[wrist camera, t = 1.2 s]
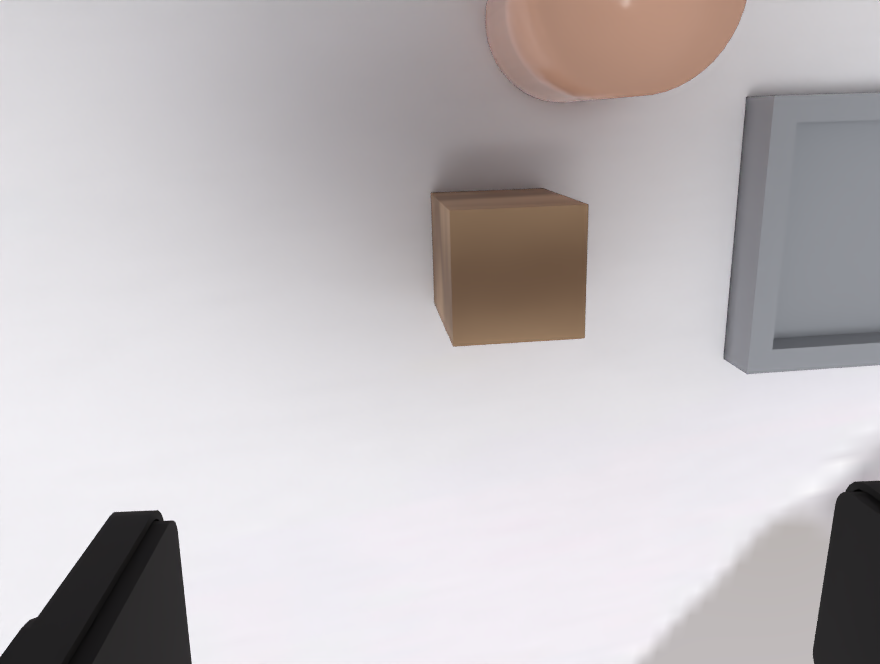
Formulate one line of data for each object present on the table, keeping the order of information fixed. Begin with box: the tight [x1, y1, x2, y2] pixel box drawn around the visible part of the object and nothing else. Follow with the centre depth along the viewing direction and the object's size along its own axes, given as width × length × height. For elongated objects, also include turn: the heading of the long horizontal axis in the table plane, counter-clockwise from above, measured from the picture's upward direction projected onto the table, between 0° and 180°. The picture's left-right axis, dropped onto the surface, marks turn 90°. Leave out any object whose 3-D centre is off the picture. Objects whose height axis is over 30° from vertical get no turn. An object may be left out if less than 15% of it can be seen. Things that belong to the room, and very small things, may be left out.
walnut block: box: [431, 188, 588, 346], centre depth 26 cm, size 4×4×6 cm
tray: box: [724, 92, 880, 374], centre depth 30 cm, size 11×11×2 cm
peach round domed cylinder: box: [485, 0, 746, 102], centre depth 23 cm, size 6×6×8 cm
